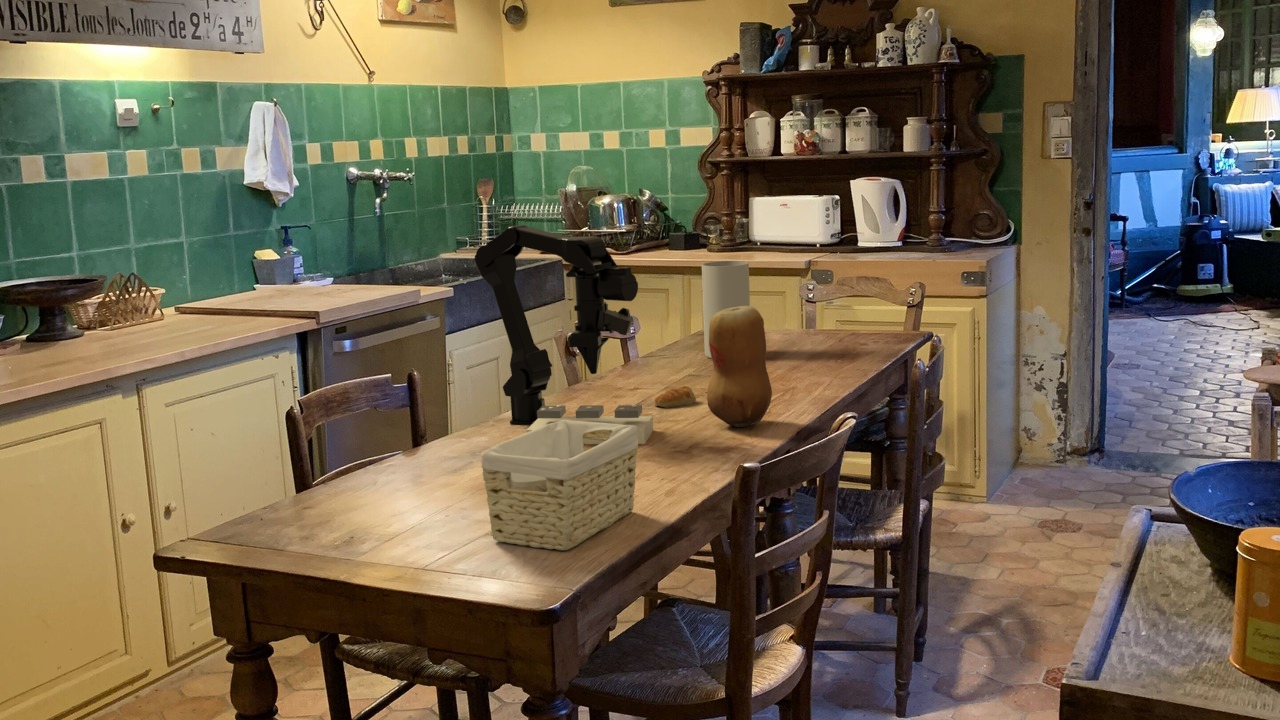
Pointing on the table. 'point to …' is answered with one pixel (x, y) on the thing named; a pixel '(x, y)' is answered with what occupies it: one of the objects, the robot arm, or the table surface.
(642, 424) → the panel
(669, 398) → the pastry
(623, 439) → the storage basket
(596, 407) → the button one pip
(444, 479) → the table surface
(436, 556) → the table surface
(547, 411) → the button three pips
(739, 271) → the cylinder vase
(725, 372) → the butternut squash
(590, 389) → the table surface
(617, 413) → the button two pips
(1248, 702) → the table surface
